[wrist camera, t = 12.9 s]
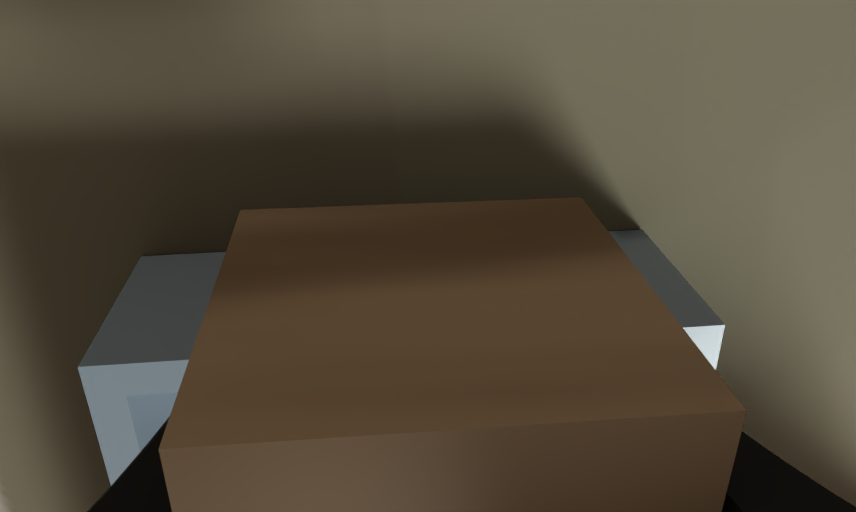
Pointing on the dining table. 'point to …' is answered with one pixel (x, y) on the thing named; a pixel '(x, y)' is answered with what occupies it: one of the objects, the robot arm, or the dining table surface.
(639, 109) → the dining table surface
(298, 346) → the tan cube
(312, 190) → the dining table surface
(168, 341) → the tote
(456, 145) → the dining table surface
